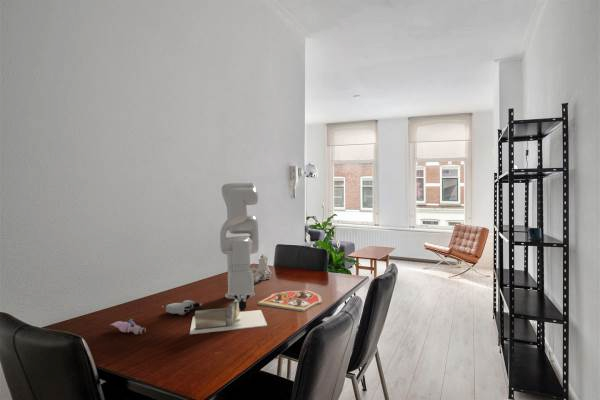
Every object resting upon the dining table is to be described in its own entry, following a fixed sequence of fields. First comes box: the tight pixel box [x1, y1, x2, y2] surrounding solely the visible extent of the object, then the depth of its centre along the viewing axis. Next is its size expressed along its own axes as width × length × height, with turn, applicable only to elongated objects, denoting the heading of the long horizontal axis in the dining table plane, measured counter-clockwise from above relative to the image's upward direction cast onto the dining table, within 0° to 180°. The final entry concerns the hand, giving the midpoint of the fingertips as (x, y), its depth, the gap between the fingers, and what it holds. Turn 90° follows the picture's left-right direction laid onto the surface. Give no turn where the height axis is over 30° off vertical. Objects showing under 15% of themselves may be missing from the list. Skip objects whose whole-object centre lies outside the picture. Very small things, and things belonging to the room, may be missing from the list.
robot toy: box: [161, 299, 203, 316], centre depth 164 cm, size 12×4×15 cm
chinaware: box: [250, 253, 273, 284], centre depth 226 cm, size 28×17×17 cm, turn 18°
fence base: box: [194, 306, 232, 329], centre depth 142 cm, size 2×14×8 cm, turn 103°
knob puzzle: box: [257, 289, 323, 313], centre depth 178 cm, size 29×30×4 cm
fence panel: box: [228, 299, 241, 322], centre depth 151 cm, size 12×1×7 cm, turn 174°
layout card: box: [189, 309, 268, 335], centre depth 149 cm, size 20×30×1 cm, turn 103°
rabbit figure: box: [110, 318, 147, 335], centre depth 139 cm, size 6×6×15 cm
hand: (242, 310), depth 152 cm, fingers closed
